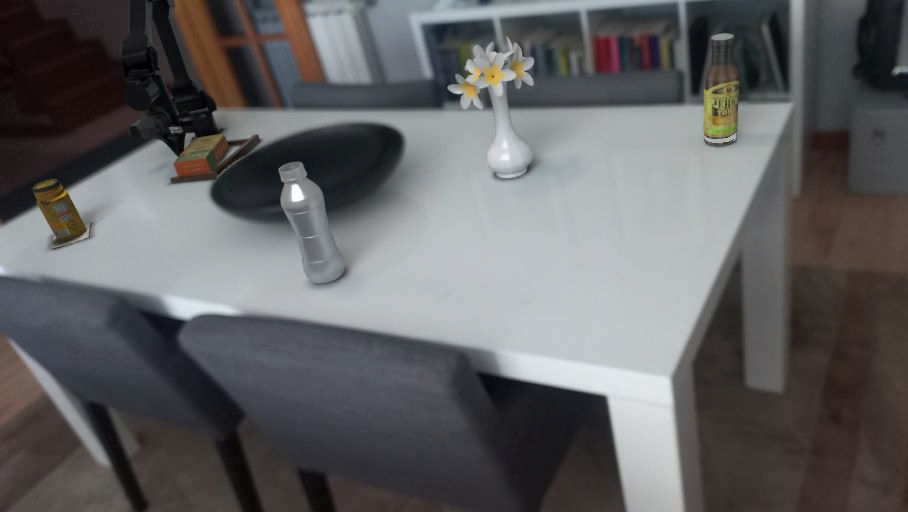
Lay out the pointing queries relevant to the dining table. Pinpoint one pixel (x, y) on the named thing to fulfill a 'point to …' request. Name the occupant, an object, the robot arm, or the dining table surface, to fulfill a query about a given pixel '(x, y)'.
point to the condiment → (60, 213)
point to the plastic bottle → (310, 224)
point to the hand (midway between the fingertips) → (181, 158)
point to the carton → (201, 155)
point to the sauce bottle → (721, 91)
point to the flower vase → (498, 104)
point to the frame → (241, 151)
